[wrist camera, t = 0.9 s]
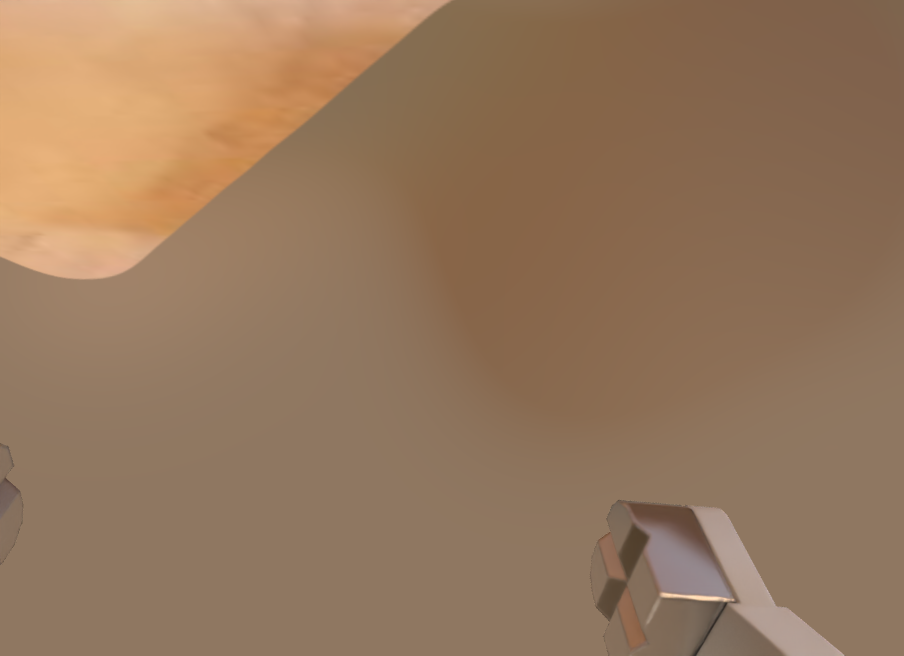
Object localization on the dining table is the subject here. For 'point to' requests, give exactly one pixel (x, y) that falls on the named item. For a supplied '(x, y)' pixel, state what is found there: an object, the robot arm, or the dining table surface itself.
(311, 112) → the dining table surface
